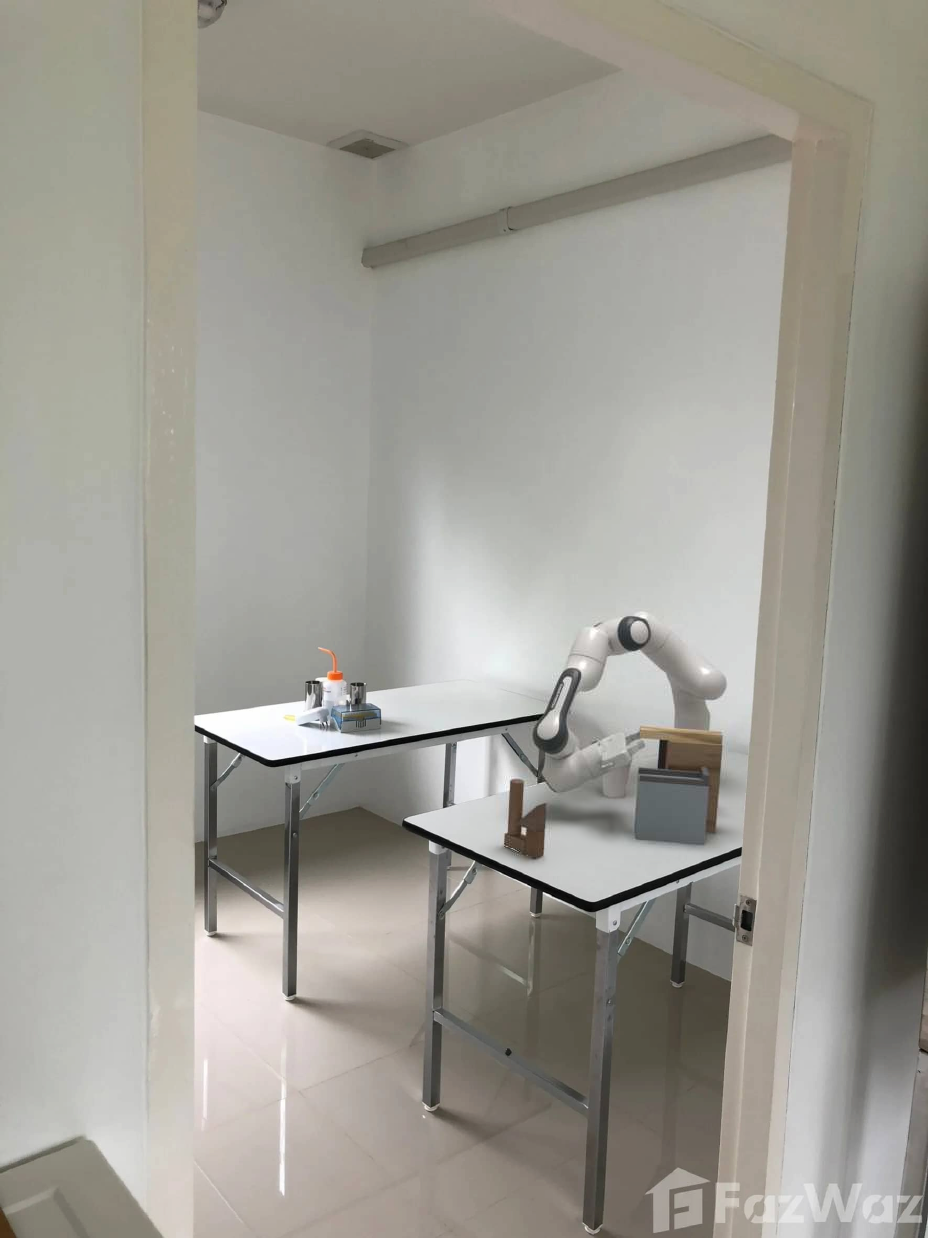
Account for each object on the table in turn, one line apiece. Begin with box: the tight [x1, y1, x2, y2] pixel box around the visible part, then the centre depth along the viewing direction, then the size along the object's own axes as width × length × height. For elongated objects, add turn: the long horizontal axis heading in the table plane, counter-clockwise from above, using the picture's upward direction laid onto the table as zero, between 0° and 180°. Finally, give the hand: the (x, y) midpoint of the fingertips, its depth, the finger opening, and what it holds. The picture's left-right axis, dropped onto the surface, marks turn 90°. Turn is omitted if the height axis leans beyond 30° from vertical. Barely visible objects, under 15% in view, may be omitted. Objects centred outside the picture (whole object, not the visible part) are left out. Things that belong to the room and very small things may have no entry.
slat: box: [639, 725, 723, 745], centre depth 263 cm, size 4×22×2 cm, turn 83°
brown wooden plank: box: [666, 740, 723, 834], centre depth 264 cm, size 6×14×25 cm, turn 83°
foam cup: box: [601, 755, 633, 799], centre depth 290 cm, size 10×9×13 cm
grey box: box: [633, 766, 710, 846], centre depth 258 cm, size 8×18×19 cm, turn 83°
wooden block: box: [503, 778, 547, 859], centre depth 244 cm, size 4×11×18 cm, turn 45°
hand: (643, 738), depth 264 cm, fingers open, 8 cm apart
